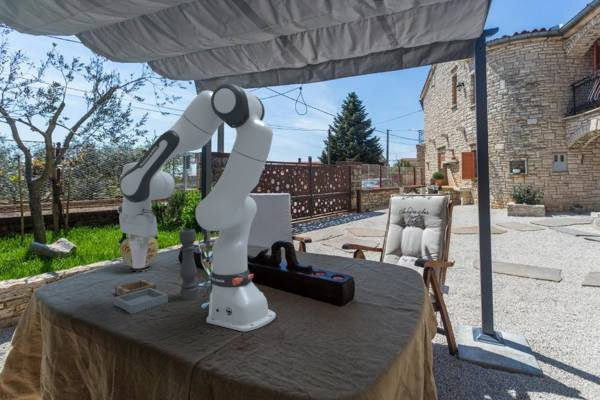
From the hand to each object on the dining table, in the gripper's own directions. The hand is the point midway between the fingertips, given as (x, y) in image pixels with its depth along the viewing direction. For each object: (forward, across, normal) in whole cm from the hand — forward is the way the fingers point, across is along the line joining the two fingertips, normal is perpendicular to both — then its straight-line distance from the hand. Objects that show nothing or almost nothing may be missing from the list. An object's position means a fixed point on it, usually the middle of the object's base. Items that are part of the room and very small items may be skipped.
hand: (139, 247), depth 113 cm
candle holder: (+20, -8, -14) cm, 26 cm away
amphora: (+21, +45, -21) cm, 54 cm away
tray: (+20, 0, 0) cm, 20 cm away
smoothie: (+7, 0, 0) cm, 7 cm away
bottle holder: (+20, +13, -4) cm, 24 cm away
